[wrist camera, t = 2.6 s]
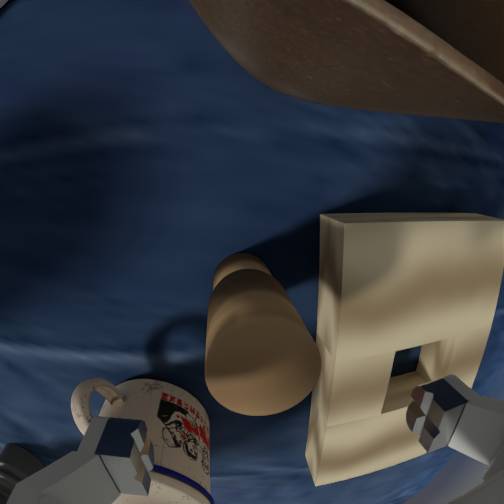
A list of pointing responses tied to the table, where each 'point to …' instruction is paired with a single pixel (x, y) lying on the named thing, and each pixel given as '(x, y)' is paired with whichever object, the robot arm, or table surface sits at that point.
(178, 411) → the teacup with lid
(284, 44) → the plant pot
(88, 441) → the robot arm
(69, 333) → the table surface
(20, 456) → the candle holder
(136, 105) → the table surface
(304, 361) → the peg
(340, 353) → the block
